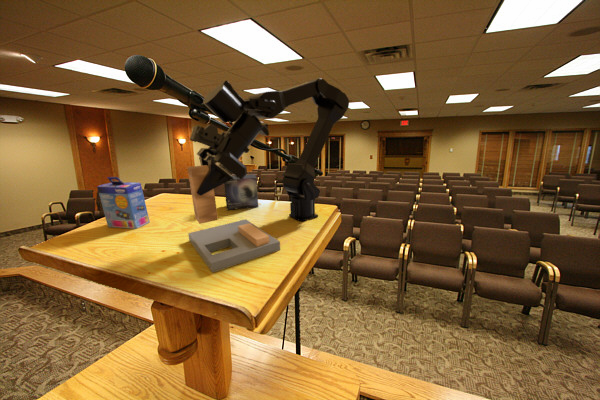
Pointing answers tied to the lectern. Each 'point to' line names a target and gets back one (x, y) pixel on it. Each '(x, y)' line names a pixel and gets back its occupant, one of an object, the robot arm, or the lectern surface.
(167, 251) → the lectern surface
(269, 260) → the lectern surface
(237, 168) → the robot arm
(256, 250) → the baseplate
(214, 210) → the ochre column
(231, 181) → the small box
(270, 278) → the lectern surface
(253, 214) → the lectern surface
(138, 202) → the ink cartridge box
